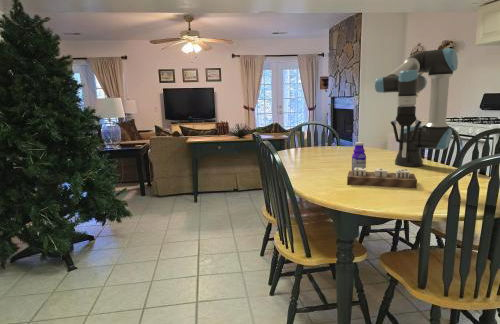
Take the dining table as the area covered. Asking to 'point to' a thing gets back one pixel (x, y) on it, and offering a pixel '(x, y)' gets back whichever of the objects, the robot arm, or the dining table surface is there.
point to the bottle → (358, 156)
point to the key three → (402, 173)
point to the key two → (360, 171)
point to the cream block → (380, 172)
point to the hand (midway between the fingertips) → (403, 156)
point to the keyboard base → (382, 180)
